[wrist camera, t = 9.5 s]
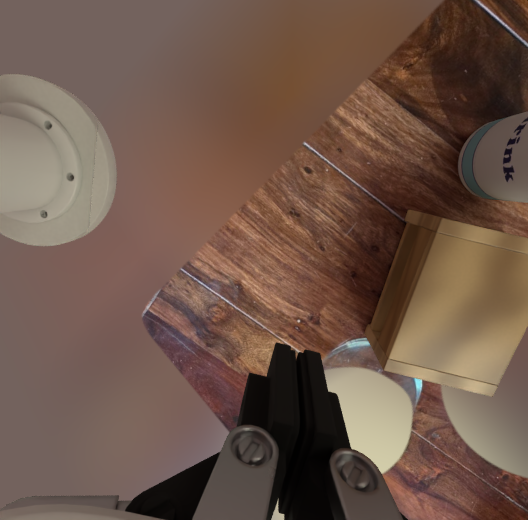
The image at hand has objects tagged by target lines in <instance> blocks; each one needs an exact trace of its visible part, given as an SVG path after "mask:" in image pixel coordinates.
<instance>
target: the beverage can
mask: <svg viewBox="0 0 528 520" xmlns="http://www.w3.org/2000/svg"><path fill="white" fill-rule="evenodd" d="M458 172H459V177H460V179H461V182H462V183H463V185H464V186H465V188H466V189H467V190H468V191H469V192H471V193H472V194H474V195H476V196H478V197H481V198H485V199H495V200H505V201H516V202H526V203H528V112H524V113H521V114H517V115H514V116H510V117H506V118H503V119H499V120H496V121H492V122H489V123H487V124H485V125H483V126H482V127H480V128H479V129H477V130H476V131H475V132H474V133H473V134H472V135H471V136H470V137H469V138H468V139H467V141H466V142H465V144H464V146H463V147H462V150H461V152H460V155H459V160H458Z"/></svg>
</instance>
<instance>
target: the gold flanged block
mask: <svg viewBox="0 0 528 520" xmlns="http://www.w3.org/2000/svg"><path fill="white" fill-rule="evenodd" d="M404 221H406V222H407V224H406V226H405V229H404V232H403V235H402V238H401V240H400V243H399V246H398V249H397V252H396V255H395V257H394V260H393V263H392V266H391V269H390V271H389V274H388V277H387V280H386V283H385V286H384V288H383V291H382V294H381V297H380V300H379V302H378V305H377V308H376V311H375V314H374V316H373V319H372V322H371V325H370V324H367V327H366V330H365V333H364V334H365V335H366V337H367V339H368V341H369V343H370V345H371V347H372V349H373V351H374V353H375V355H376V357H377V359H378V360H379V362H380V364H381V366H382V368H383V370H384V371H388V372H393V373H397V374H401V375H405V376H409V377H413V378H417V379H421V380H425V381H429V382H434V383H438V384H442V385H446V386H450V387H454V388H458V389H462V390H467V391H470V392H475V393H479V394H483V395H487V396H492V397H493V395H494V393H495V391H496V389H497V387H498V384H499V382H500V380H501V378H502V376H503V374H504V372H505V370H506V368H507V366H508V364H509V362H510V360H511V358H512V356H513V354H514V352H515V350H516V348H517V346H518V344H519V342H520V340H521V338H522V336H523V334H524V332H525V330H526V328H527V326H528V238H525V237H521V236H517V235H512V234H508V233H504V232H500V231H496V230H492V229H488V228H484V227H480V226H475V225H471V224H467V223H463V222H459V221H455V220H451V219H447V218H442V217H438V216H434V215H430V214H426V213H422V212H418V211H414V210H408V211H407V214H406V217H405V220H404Z"/></svg>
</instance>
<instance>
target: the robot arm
mask: <svg viewBox="0 0 528 520" xmlns="http://www.w3.org/2000/svg"><path fill="white" fill-rule="evenodd" d="M82 177H83V175H82V163H81V159H80V155H79V152H78V149H77V147H76V145H75V142H74V141H73V139H72V137H71V136H70V134H69V133H68V131H67V130H66V129H65V128H64V127H63V126H62V124H61V123H60V122H59V121H57V120H56V119H55V118H54V117H52V116H51V115H50V114H48V113H46V112H44V111H43V110H41V109H39V108H36V107H33V106H30V105H26V104H22V103H16V102H5V103H0V213H1V214H3V215H5V216H7V217H9V218H11V219H14V220H17V221H20V222H27V223H40V222H45V221H50V220H53V219H55V218H58V217H60V216H61V215H63V214H64V213H66V212H67V211H68V210H69V209H70V208H71V207H72V206H73V204H74V203H75V201H76V199H77V197H78V195H79V192H80V189H81V185H82ZM278 498H279V502H278V505H279V506H278V508H279V509H278V510H279V513H281V514H284V520H408V519H407V518H406V517H405V516H404V515H402V514H401V513H400V512H399V510H398V507H397V505H396V503H395V501H394V499H393V497H392V495H391V493H390V491H389V489H388V486H387V484H386V482H385V480H384V478H383V476H382V474H381V472H380V471H379V469H378V467H377V466H376V465H375V464H374V463H373V462H372V461H371V460H370V459H369V458H368V457H366V456H365V455H364V454H362V453H360V452H358V451H356V450H352V449H351V447H350V443H349V439H348V435H347V431H346V427H345V423H344V419H343V415H342V411H341V407H340V403H339V399H338V396H337V394H336V393H332V392H328V389H327V384H326V379H325V374H324V369H323V365H322V360H321V355H320V353H318V352H314V351H310V350H304V353H301V352H299V353H298V356H297V359H296V355H295V351H293V350H291V347H290V346H289V345H285V344H280V343H276V344H275V347H274V351H273V355H272V358H271V362H270V366H269V369H268V373H267V377H265V376H261V375H257V374H253V373H249V376H248V379H247V383H246V387H245V391H244V395H243V400H242V404H241V409H240V414H239V419H238V424H237V427H236V428H235V429H233V430H232V431H231V432H230V433H229V435H228V436H227V438H226V441H225V443H224V445H223V448H222V450H221V452H219V453H217V454H215V455H213V456H211V457H209V458H207V459H205V460H203V461H201V462H200V463H198V464H196V465H194V466H192V467H190V468H188V469H186V470H184V471H182V472H180V473H178V474H177V475H175V476H173V477H171V478H169V479H167V480H165V481H163V482H161V483H159V484H157V485H155V486H154V487H151V488H150V489H148V490H146V491H144V492H142V493H141V494H139V495H138V496H137V497H135V498H134V499H133V500H132V501H118V499H119V496H32V497H26V498H21V499H18V500H16V501H14V502H12V503H10V504H8V505H6V506H5V507H3V508H2V509H1V510H0V520H271V518H272V515H273V512H274V510H275V507H276V504H277V501H278Z"/></svg>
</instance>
